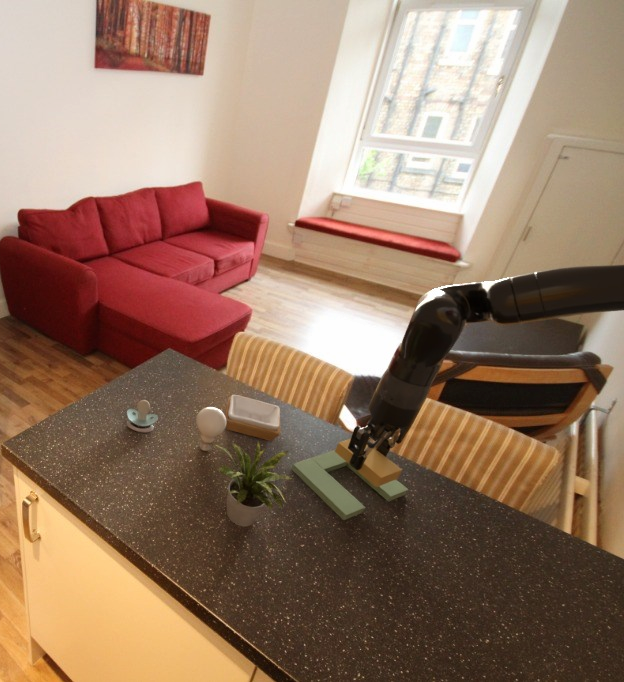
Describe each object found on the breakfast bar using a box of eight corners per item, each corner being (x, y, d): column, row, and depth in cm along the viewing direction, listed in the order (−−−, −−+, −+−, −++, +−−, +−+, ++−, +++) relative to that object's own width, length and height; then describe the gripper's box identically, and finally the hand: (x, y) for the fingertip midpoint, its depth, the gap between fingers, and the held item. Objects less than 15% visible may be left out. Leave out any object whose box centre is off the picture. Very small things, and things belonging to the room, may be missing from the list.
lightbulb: (184, 448, 99) (192, 409, 93) (200, 435, 103) (209, 397, 98) (209, 463, 95) (219, 424, 90) (224, 449, 99) (234, 410, 94)
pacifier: (153, 437, 101) (158, 420, 106) (156, 416, 98) (161, 400, 103) (122, 429, 103) (128, 413, 108) (124, 408, 100) (130, 393, 105)
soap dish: (221, 431, 105) (225, 414, 102) (225, 407, 113) (229, 391, 110) (276, 446, 102) (281, 429, 99) (276, 420, 110) (281, 404, 107)
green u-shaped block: (343, 520, 85) (346, 515, 84) (290, 468, 96) (292, 463, 95) (405, 494, 92) (408, 489, 91) (350, 449, 103) (352, 444, 102)
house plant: (191, 535, 80) (208, 469, 71) (199, 479, 91) (214, 417, 83) (273, 558, 77) (300, 493, 69) (271, 497, 88) (294, 435, 80)
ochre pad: (354, 444, 94) (358, 435, 93) (397, 479, 86) (402, 469, 85) (334, 451, 92) (338, 442, 91) (376, 487, 84) (381, 478, 83)
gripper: (391, 416, 75) (356, 486, 83) (444, 399, 80) (406, 467, 89) (354, 390, 81) (325, 458, 89) (406, 377, 86) (374, 442, 95)
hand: (366, 462), depth 89 cm, fingers closed on ochre pad, 6 cm apart
